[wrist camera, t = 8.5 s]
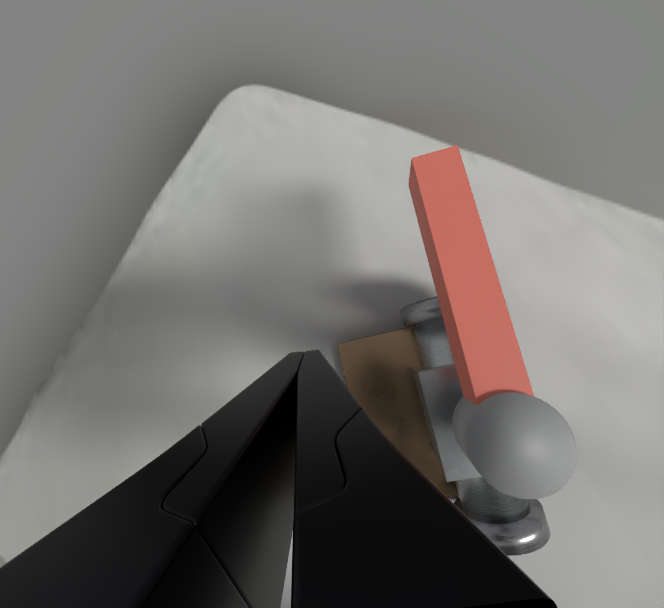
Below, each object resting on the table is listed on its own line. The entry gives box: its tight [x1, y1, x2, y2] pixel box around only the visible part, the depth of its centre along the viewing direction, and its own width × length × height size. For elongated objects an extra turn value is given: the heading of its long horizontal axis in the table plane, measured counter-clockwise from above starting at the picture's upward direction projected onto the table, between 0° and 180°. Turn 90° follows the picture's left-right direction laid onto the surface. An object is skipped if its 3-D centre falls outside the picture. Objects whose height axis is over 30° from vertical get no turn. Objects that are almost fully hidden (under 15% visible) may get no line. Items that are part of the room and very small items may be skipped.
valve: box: [337, 296, 550, 555], centre depth 16 cm, size 12×9×7 cm
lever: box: [409, 145, 577, 499], centre depth 12 cm, size 3×13×2 cm, turn 11°
